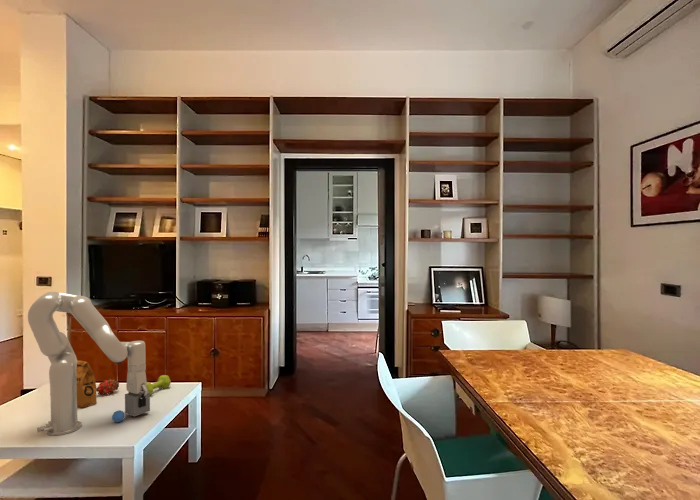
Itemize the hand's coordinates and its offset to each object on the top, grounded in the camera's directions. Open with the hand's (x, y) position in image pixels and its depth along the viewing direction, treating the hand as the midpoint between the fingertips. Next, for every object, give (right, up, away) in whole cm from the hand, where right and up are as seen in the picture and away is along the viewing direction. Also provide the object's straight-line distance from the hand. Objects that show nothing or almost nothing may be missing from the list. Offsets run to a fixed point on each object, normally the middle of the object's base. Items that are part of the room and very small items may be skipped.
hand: (137, 404), depth 194 cm
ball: (-5, -3, -7) cm, 9 cm away
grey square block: (0, -3, 0) cm, 3 cm away
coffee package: (-35, -6, +14) cm, 38 cm away
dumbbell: (-6, -5, +32) cm, 33 cm away
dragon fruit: (-31, -5, +29) cm, 43 cm away
